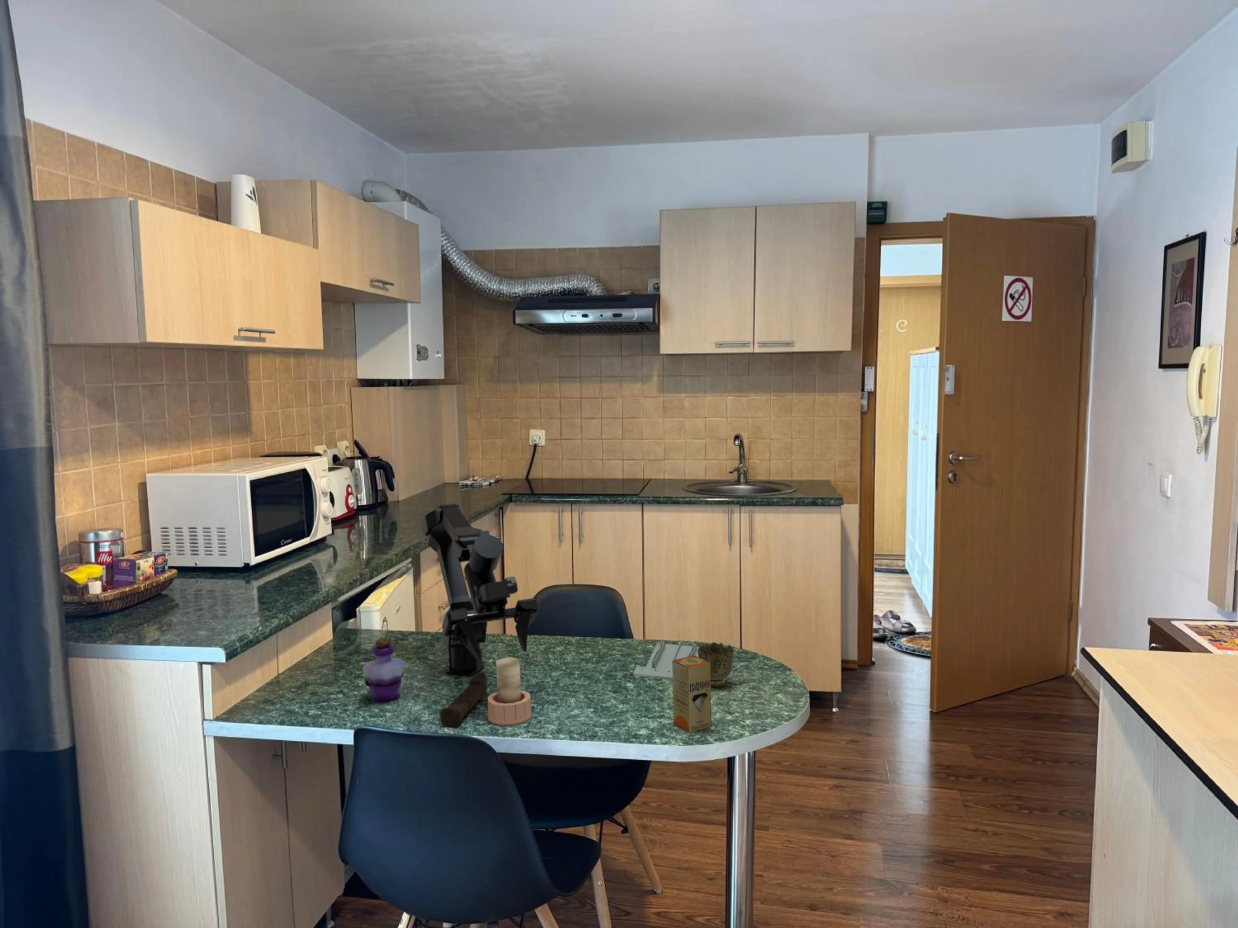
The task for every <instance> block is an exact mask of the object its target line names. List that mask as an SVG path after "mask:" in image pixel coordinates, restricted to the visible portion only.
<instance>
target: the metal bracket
mask: <svg viewBox="0 0 1238 928" xmlns="http://www.w3.org/2000/svg"><path fill="white" fill-rule="evenodd" d="M665 641H666V640H661V641H660V642H659V643H657V644H656V645H655V648H654V649H653V651H652V653H651V656H650V658H649V659H648V662H647V664H646V665H645V666H636V667H635V669H634V671H633V676H637V677H647V678H649V677H650V678H661V679H671V680H673V672H672V660H676V659H681V658H685V657H689V656H693V655H694V656H697V657H698V649H699V646H697V643H694V642H693V643H692V645H683V642H682V640H679V643H678V644H670V643H669V644H668V643H666V642H665Z"/></svg>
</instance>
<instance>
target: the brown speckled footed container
mask: <svg viewBox="0 0 1238 928" xmlns="http://www.w3.org/2000/svg"><path fill="white" fill-rule="evenodd" d="M698 645H699V646H698V647H699V649H698V657H699V658H701V659H704V660H706V661H708V662H710V667H711V688H719V687H720V688H721V687H723V686H724V685H725V683H726V680H725V679H726V678H728V677H729V675H730V674H731V672H732V667H733V660H734V650H735V649H734V648H735V647H734V646H732V645H731V644H730V643H729V644H728V645H727V646H724V643H723V642H719V644H718V643H717V642H715V641H714V642H711V643H710V645H709V643H707V642H706V643H705V645H704V644H698Z"/></svg>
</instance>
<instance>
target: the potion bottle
mask: <svg viewBox="0 0 1238 928" xmlns="http://www.w3.org/2000/svg"><path fill="white" fill-rule="evenodd" d="M391 641H392V640H391V639H389V638H379V639H377V640H375V641H374V642H375V645H374V646H372V648H371V652H372V655H373V656H375V658H376V659H375V660H370V661H367V662H366V663H365V664H364V665H363V666H362V667H361V669H362V671H363V675H364V676H363V680H364V681H363V682H364V684H365V685H366V686H367V687H368V689H369V691H370V695H371V697H372V698H371V701H373V702H375V703H390V702H393V701H397V700H398V699H399V698H400V696H401V694H400V693H401V692H400V691H401V686H402V679H403V677H404V675H405V674H404V673H405V669H406V662H407V661H405V660H403V659H401V658H399V657H392V655H393V654H394V653H395V644H394V643H393V644H392V643H391Z"/></svg>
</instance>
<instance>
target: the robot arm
mask: <svg viewBox="0 0 1238 928" xmlns="http://www.w3.org/2000/svg"><path fill="white" fill-rule="evenodd" d="M461 510H462V509H461V507H460V505H459V504H457V503H448V504H447V503H446V504H439V505H437V506H436V507H435V509H434V510H432V511H430V512H428V513H426V514H425V515H424V517H423V519H422V521H421V533H422V535H423V537H425V540H426V543H427V546H428V547H430V548H431V549H432V550H433V551H434V552H436V555H437V559H438V563H439V567H440V571H441V575H442V580H443V583H444V588H445V592H446V596H447V599H448V604H449V608H448V610H447V611H446V613H445V615H444V618H443V621H442V623H441V624H442V627H441V628H442V632H441V640H442V644H443V645H444V646H445V648H447V650H448V668H447V669H445V671H444V672H445V674H452V675H459V676H460V675H461V676H469V677H470V676H472V675H473V674H475V673H477V672H478V671H480V670H481V669H484V668H485V664H483V651H482V650H483V649H481V644H484V643H486V639H487V630H488V629H487V627H488V622H495V621H500V620H502V621H503V620H508V619H513V621H514V623H515V626H514V628H515V632H516V635H517V638H518V642H519V644H520V645H519V646H520V648H521V651H523V653H526V652H527V649H528V647H527V646H528V631H529V630H528V629H529V627H530V626H531V624H533V623H534V622H535V621H536V619H537V617H538V614H539V612H540V610H541V606H540V603H539V601H538V600H537V599H535V598H534V597H532V598H525V599H524V598H523V599H518V600H517V602H516V603H515V606H514V607H510V608H505V606H507V604H508V598H511V595H513V594H514V595H515V594H516V593H518V592H519V591H518V589H519V588H518V583H517V580H516V577H515V576H509V577H505V578H504V579H503V580H501V581H497V578H496V575H495V573H494V571H496V570H497V567H498V566H499V565H498V564H499V561H500V560H501V557H502V554H503V552H504V544H503V542H502V541H501V540H500V539H499V538H498V537H497V536H494V535H492V534H490V532H489V531H490V530H483V529H480V528H477V527H472V526H473V525H471V523H470V522H469V521H468V519H467V518H466V517H465V515H464V514H463V512H462V511H461ZM466 562H467V563H466ZM462 563H466V564H465V565H464V568H463V566H462Z"/></svg>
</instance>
